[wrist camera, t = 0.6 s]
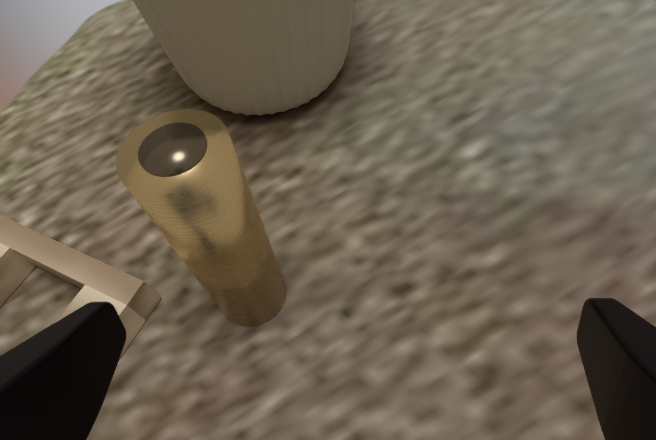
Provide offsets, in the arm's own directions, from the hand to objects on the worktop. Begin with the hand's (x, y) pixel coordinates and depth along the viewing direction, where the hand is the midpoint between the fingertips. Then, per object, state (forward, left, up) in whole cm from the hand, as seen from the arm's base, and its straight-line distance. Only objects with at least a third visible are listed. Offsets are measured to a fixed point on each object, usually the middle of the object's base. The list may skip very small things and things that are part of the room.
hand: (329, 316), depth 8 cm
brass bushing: (+4, +8, -16) cm, 19 cm away
